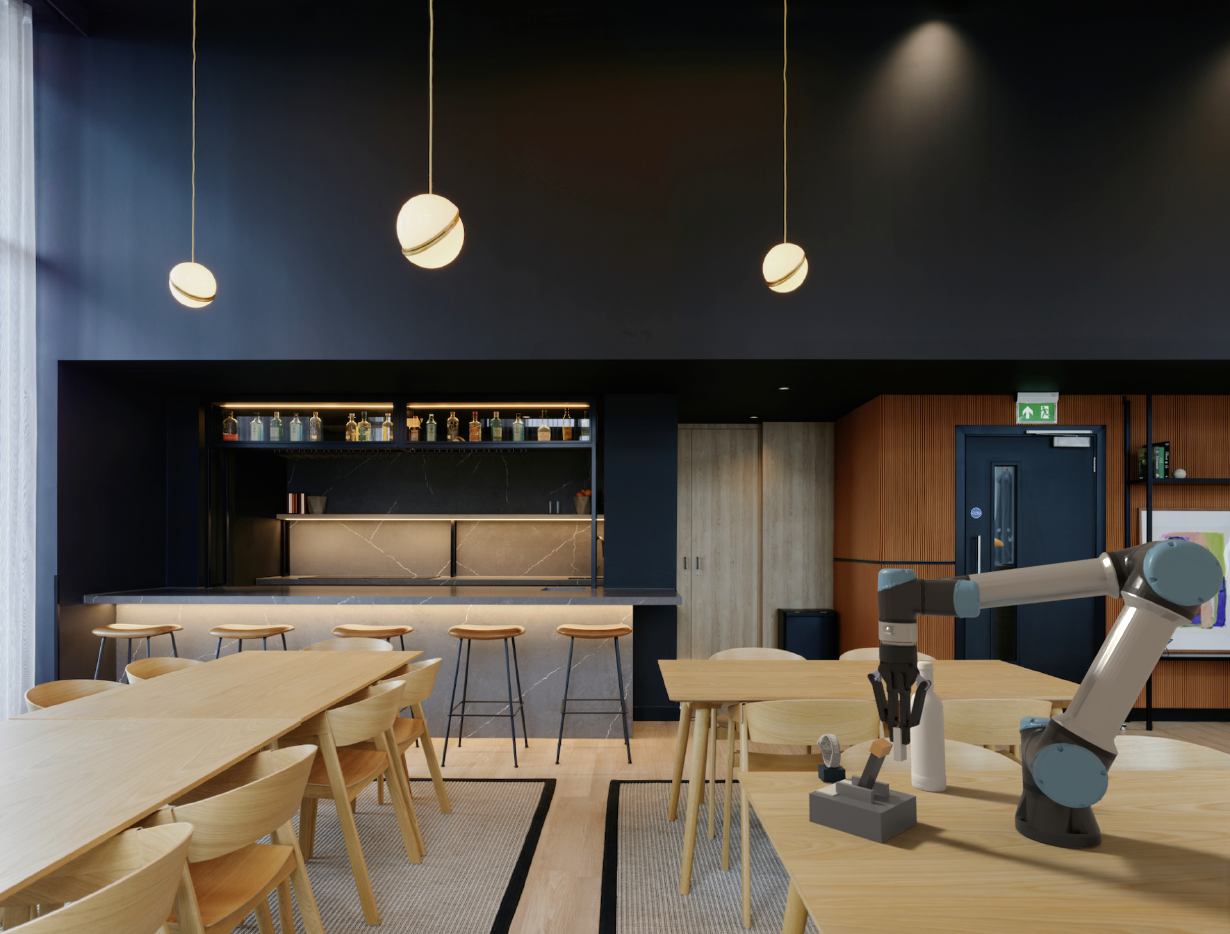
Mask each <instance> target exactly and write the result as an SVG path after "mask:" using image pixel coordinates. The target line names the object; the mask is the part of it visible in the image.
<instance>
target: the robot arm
mask: <svg viewBox="0 0 1230 934" xmlns="http://www.w3.org/2000/svg"><path fill="white" fill-rule="evenodd" d="M877 576H878V577H877V607H878V608H877V609H878V639H879V640H880V641H881V642H880V643H879V644H878V659H879V665H878V666H877V670H875V671H874V672H870V673H867V676H866V677H867V679H868V681H869V683H870V684H871V687H872V691H873V695H874V699H875V704H876V708H877V713H878V717H879V720H880V721H881V722H884V723H886V724H887V725H888V729H889V730H888V731H889V732H888V734H889V735H888V736H889V742H890V743H893V761H896V762H899V763H901V762H904V761H907V760H908V759H907V758H908V755H907V754H908V753H907V746H908V745H911V736H910V728H911V727H915V726H918V725H919V724H920V720H921V715H922V711H923V706H924V701H925V697H926V692H927V690H928V689H929V687H930V686H931V681H930V680H926V679H924V678H923V677H922V676H921V675H920V671H919V669H918V667H917V663H918V662H919V660H918V658H919V657H918V646H917V644H916V643H917V642H918V629H917V621H918V620H917V616H932V617H933V616H934V617H935V616H936V617H949V618H951V617H952V618H953V617H954V618H960V619H963V618H977V617H979V615H980V613H981V609H989V608H997V607H1009V606H1017V605H1026V604H1037V603H1044V602H1045V603H1046V602H1052V601H1053V602H1054V601H1063V600H1071V599H1079V598H1090V597H1099V596H1107V595H1108V596H1110V597H1111V598H1112V599H1114V600H1117V599H1118V600H1119V599H1123V602H1124V605H1123V606H1122V609H1121V611H1120V613H1119V614H1118V616H1117V618H1116V620H1115V622H1114V624H1113V625H1112V626H1111V629H1110V630H1109V632H1108V634H1107V636H1106V638H1105V640H1104V641H1103V643H1102V645H1101V647H1100V649H1099V651H1098V653H1097V654H1096V656H1095V657H1094V659H1093V661H1092V663H1091V665H1090V667H1089V668H1088V671H1087V672H1086V674H1085V676H1084V678H1083V679H1082V680H1081V681H1082V682H1081V683H1080V685H1079V687H1078V689H1077V690H1076V692H1075V694H1074V696H1073V698H1072V699H1071V701H1070V703H1069V704H1068V706H1067V708H1066V710H1065V712H1064V713H1061V714H1056V715H1052V716H1051V717H1041V716H1024V717H1022V718H1021V719H1020V724H1019V725H1020V726H1019V729H1018V730H1019V731H1018V732H1019V733H1020V753H1021V776H1022V792H1021V795H1020V798H1019V801H1018V805H1017V808H1016V810H1015V814H1014V827H1015V830H1016V831H1017V832H1018V833H1020V834H1022V835H1023V836H1025V837H1027V838H1030V839H1033V840H1034V841H1037V842H1040V843H1044V844H1048V845H1053V846H1057V847H1064V848H1071V849H1072V848H1073V849H1090V848H1091V849H1092V848H1095V847H1098V846H1100V845H1101V843H1102V837H1101V835H1102V834H1101V833H1102V832H1101V829H1100V826H1099V824H1098V821H1097V819H1096V816H1095V813H1094V811H1093V808H1092V806H1093V805H1095V804H1097V803H1099V802H1100V801H1101V800H1102V799H1103V798H1104V796H1105V795H1106V793H1107V792H1108V791H1107V790H1108V787H1109V779H1110V778H1109V770H1110V769H1111V767H1112V765H1113V763H1114V761H1115V760H1116V758H1117V756H1118V754H1119V751H1118V749H1117V746H1116V744H1115V738H1116V737H1117V735H1118V733H1119V732H1120V730H1121V727H1122V726H1123V724H1124V723H1125V721H1126V719H1127V717H1128V716H1129V714H1130V712H1131V710H1132V709H1133V707H1134V705H1135V703H1136V701H1137V699H1138V698H1139V696H1140V694H1141V692H1142V690H1143V689H1144V687H1145V686H1146V683H1147V681H1148V679H1149V678H1150V676H1151V674H1152V672H1153V671H1154V669H1155V667H1156V665H1157V664H1158V662H1159V660H1160V658H1161V657H1162V655H1163V653H1164V652H1165V650H1166V648H1167V646H1168V644H1169V642H1170V640H1171V639H1172V637H1173V635H1174V633H1175V631H1176V630H1177V628H1179V627H1182V626H1186V625H1191V624H1192V622H1193V621H1194V619H1195V617H1196V615H1197V614H1198V612H1199V610H1200V609H1201V607H1202V605H1203V604H1207V603H1208V602H1209V601H1211V600H1212V599H1213V598H1215V596H1217V594H1218V593H1219V592H1220V590H1221V588H1222V586H1223V584H1224V582H1223V581H1224V570H1223V568H1222V565H1221V563H1220V561H1219V560H1218V557H1216V555H1214V553H1212V551H1210V549H1208V548H1206V547H1204V546H1203V545H1201V544H1199V543H1196V542H1193V541H1189V540H1185V539H1180V538H1169V539H1165V540H1155V541H1147V542H1144V543H1142V544H1138V545H1137V544H1136V545H1134V546H1131V547H1127V548H1122V549H1119V550H1113V551H1105V552H1102V553H1101V554H1100V555H1099V557H1097V558H1088V559H1081V560H1080V559H1079V560H1075V561H1065V562H1058V563H1051V564H1043V565H1035V566H1027V567H1022V568H1021V567H1019V568H1012V569H1003V570H997V571H990V572H989V571H988V572H981V573H980V572H979V573H973V574H967V575H956V576H952V577H951V576H950V577H948V576H945V577H943V576H942V577H938V578H937V579H932V578H931V579H930V578H929V579H927V578H926V579H925V578H920V577H918V576H917V574H916V571H915V569H913V568H912V569H911V568H882V569H880V570H879V571H878V575H877ZM882 681H884V683H885V684H886V689H885V687H884V684H883V682H882ZM915 682H916V684H915ZM914 684H915V685H916V689H915V692H914V693H915V697H914V702H913V706H912V711H911V698H912V697H911V693H912V687H913V685H914ZM885 691H886V693H887V696H886V693H885Z"/></svg>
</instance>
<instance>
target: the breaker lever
mask: <svg viewBox="0 0 1230 934" xmlns="http://www.w3.org/2000/svg"><path fill="white" fill-rule="evenodd" d="M893 747H894V743H893V742H890V740H889V741H888V740H887V739H885V738H884V737H882V738H879V739H875V740H873V741H872V743H871V745H870V748H869V750H868V752H870V754H869V757H868V759H867V761H866V764H865V766H864V769H863V771H862V773H861V776H860V777H861V778H860V781H859V783H858V785H857V786H859V787H863V788H867V789H872V788H873V786H874V783H875V781H876V780H877V779H878V776H879V773H880V771H881V768H882V766H883V764H884V762H885V758H886V756H889V755H890V753H891V751H892V748H893Z"/></svg>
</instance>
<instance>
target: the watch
mask: <svg viewBox="0 0 1230 934" xmlns="http://www.w3.org/2000/svg"><path fill="white" fill-rule="evenodd" d="M840 744H841V743H840V740H839V737H838V736H837V734H833V733H825V734H822V735H821V736H820V737H819V738H818V740H817V741H816V745H818V746H819V750H820V753H821V754H822V759H823V762H824V764H817V775H818V777H817V778H819V780H821V781H822V782H823V783H826V784H827V783H832V784H834V783H836V782H838V781H842V780H844V779H847V777H846V772H847V771H846V768H844V767H843V766H842V765H840V764H841V760H842V758H841V757H842V754H841V745H840Z"/></svg>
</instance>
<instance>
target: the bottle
mask: <svg viewBox="0 0 1230 934" xmlns="http://www.w3.org/2000/svg"><path fill="white" fill-rule="evenodd" d="M917 667H918V669H919V671H920V675H921V676H922V677H923V678H924V679H926V680H930V681H931V686H930V687H929V689H928V690H927V692H926V697H925V701H924V706H923V711H922V715H921V720H920V724H919V725H918V726H915V727H911V728H910V764H911V766H910V768H911V770H910V780H911V785H912V787H914V788H915V789H917V790H920V791H925V792H930V793H931V792H932V793H941V792H944V791H946V790H947V774H946V770H947V769H946V748H945V747H946V746H945V744H946V743H945V741H946V740H945V718H944V717H945V716H944V715H945V714H944V703H943V701H942V699H941V697H940V696H939V694H937V692H935V690H934V687H935V685H934V683H935V682H934V670H935V667H934V663H933V662H931V661H927V660H926V661H925V660H924V661H923V660H921V661H920V660H918V663H917ZM914 697H915V692H914V693H913V694H912V696H911V697H910V698H911V711H912V706H913V702H914Z"/></svg>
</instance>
